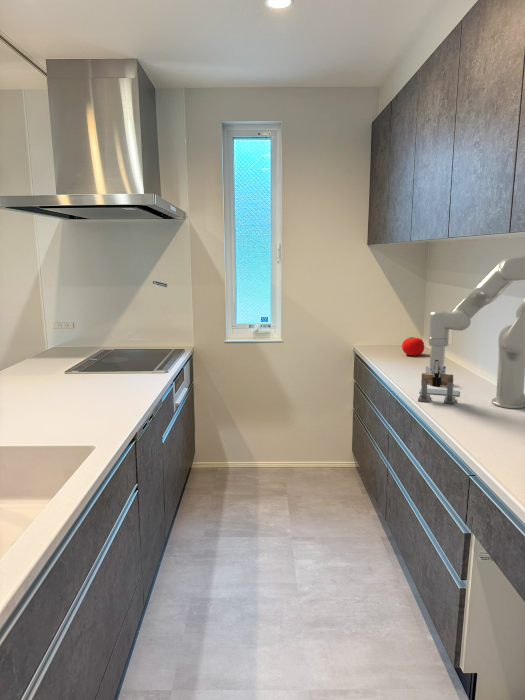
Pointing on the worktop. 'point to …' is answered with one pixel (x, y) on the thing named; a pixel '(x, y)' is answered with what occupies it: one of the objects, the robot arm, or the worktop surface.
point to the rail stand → (425, 398)
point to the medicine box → (432, 370)
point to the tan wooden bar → (443, 376)
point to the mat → (439, 392)
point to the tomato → (413, 346)
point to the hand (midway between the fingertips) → (436, 385)
